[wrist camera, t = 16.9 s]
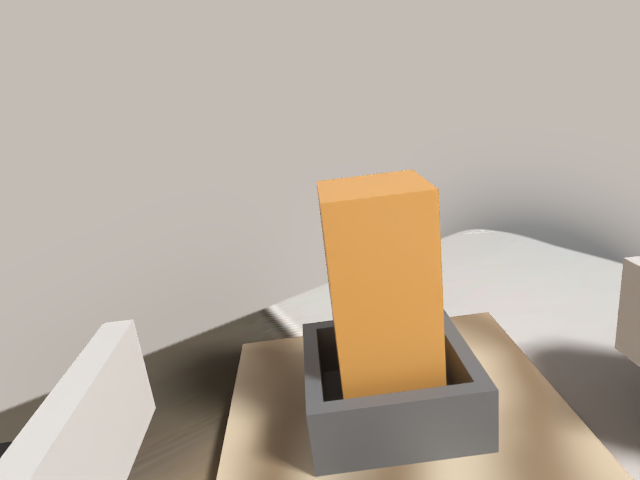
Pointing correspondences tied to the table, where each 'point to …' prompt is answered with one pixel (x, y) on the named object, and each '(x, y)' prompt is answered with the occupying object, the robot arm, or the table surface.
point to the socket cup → (397, 411)
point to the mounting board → (435, 476)
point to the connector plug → (385, 281)
